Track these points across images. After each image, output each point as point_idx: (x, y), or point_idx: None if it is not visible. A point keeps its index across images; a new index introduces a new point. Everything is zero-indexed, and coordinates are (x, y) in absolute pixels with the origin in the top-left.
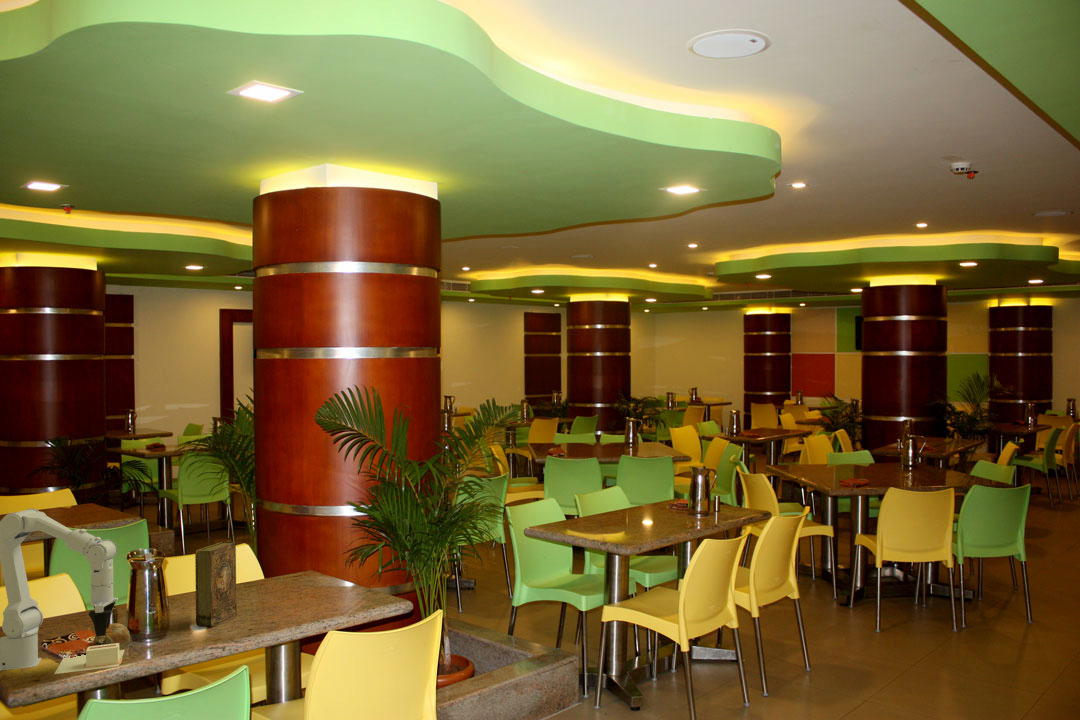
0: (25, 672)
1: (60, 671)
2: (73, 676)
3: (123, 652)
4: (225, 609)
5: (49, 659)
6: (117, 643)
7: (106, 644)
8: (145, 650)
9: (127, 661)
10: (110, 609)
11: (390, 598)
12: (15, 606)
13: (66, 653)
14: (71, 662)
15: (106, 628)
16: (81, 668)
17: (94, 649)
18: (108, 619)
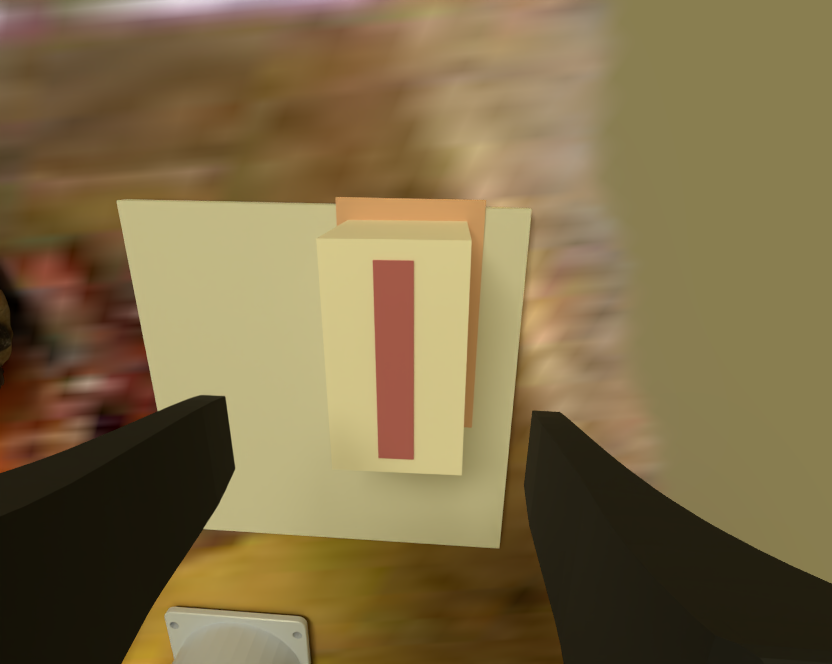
0: (359, 644)
1: (466, 525)
2: None
3: (187, 203)
4: None
5: (172, 575)
6: (331, 253)
7: (325, 344)
8: (128, 35)
9: (382, 158)
10: (7, 554)
11: None
12: None
13: None
14: (309, 488)
15: (564, 441)
16: (464, 432)
17: (444, 422)
18: (155, 455)
